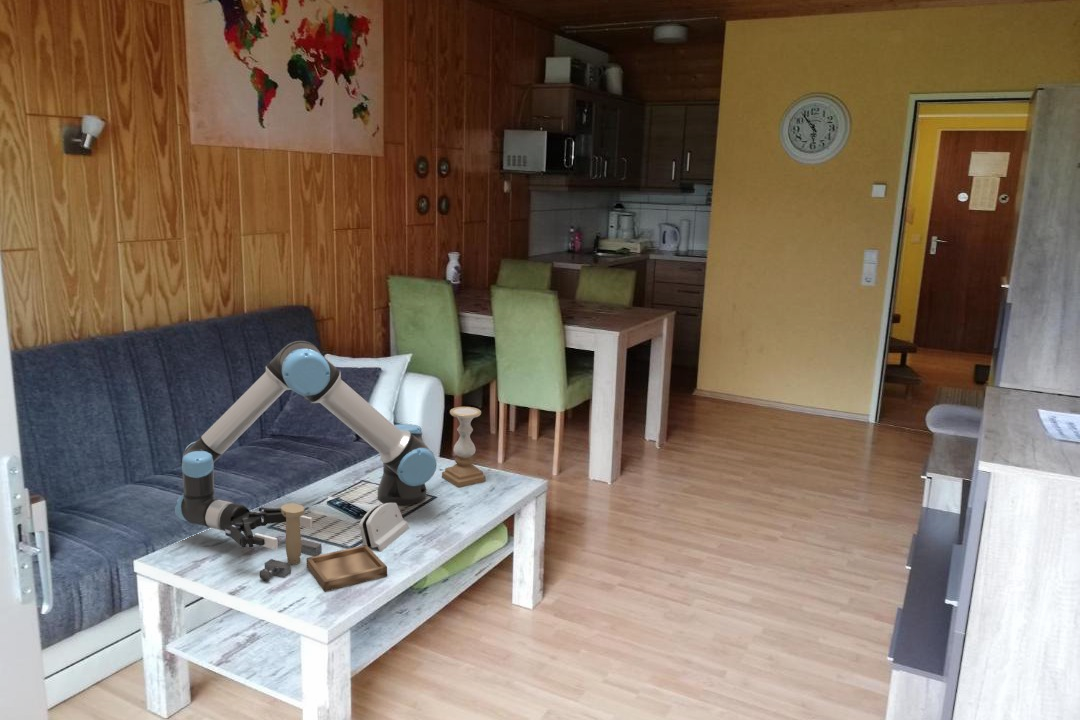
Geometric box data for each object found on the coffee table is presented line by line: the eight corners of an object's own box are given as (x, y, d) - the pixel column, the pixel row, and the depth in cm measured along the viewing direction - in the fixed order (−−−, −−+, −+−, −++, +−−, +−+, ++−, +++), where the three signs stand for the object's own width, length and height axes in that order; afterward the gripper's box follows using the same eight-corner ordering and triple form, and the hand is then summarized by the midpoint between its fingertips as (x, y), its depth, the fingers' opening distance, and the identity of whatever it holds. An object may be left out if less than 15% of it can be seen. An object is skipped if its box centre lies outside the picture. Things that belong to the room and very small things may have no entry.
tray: (366, 553, 211) (366, 544, 211) (387, 576, 200) (387, 566, 200) (306, 567, 203) (306, 558, 202) (324, 591, 191) (324, 582, 191)
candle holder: (441, 477, 267) (442, 408, 262) (468, 471, 273) (470, 404, 268) (458, 488, 258) (460, 417, 253) (486, 481, 265) (488, 412, 260)
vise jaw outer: (271, 568, 201) (271, 556, 201) (290, 573, 199) (290, 561, 199) (254, 578, 196) (254, 567, 195) (274, 584, 194) (273, 572, 193)
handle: (293, 569, 201) (292, 514, 198) (278, 561, 205) (276, 507, 201) (309, 562, 205) (308, 508, 202) (294, 555, 209) (292, 501, 205)
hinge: (380, 552, 212) (369, 517, 211) (365, 554, 214) (354, 519, 213) (410, 527, 228) (399, 494, 227) (396, 530, 230) (385, 497, 229)
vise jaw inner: (302, 548, 213) (302, 539, 212) (321, 552, 211) (321, 544, 210) (296, 551, 210) (296, 543, 210) (315, 556, 208) (315, 547, 208)
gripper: (261, 512, 222) (324, 528, 215) (193, 549, 199) (261, 567, 192) (260, 487, 220) (324, 502, 213) (191, 521, 198) (260, 539, 190)
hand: (294, 533), depth 202 cm, fingers open, 13 cm apart
